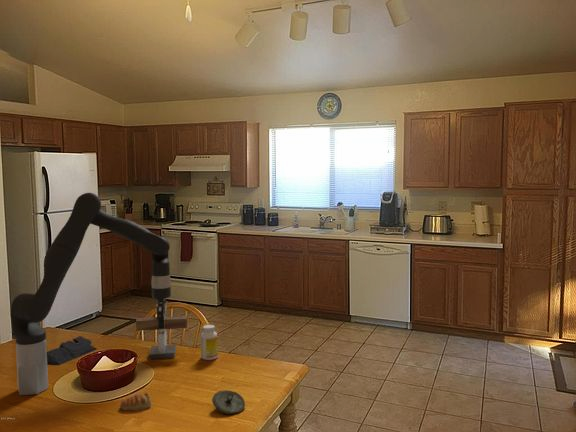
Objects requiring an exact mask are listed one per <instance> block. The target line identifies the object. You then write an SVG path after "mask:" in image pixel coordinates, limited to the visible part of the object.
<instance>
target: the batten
mask: <svg viewBox="0 0 576 432" xmlns="http://www.w3.org/2000/svg"><path fill="white" fill-rule="evenodd" d="M164 318H165V319H164V329H166V330H173V329H174V330H175V329H176V330H178V329H188V315H175V316H165V317H164ZM135 326H136V327H135V330H136V332H137V331H157V330H162V329H159V321H158V319H157V316H156V317H155V316H154V317H137V318H136V320H135Z"/></svg>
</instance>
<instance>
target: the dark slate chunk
mask: <svg viewBox="0 0 576 432" xmlns="http://www.w3.org/2000/svg"><path fill="white" fill-rule="evenodd" d="M95 351H97V347H95V346H94V345H92V341H91V340H90V339H88V338H86V337H83V336H81V335H80V336H77V337H75V338H72V340H66V341H65V342H61V343H60V345H59V347H57V348H54V349H51V350H47V364H51V365H55V366H57V365H59V366H61V365H62V364H66V363H68V362H70V361H72V360H76V359H78V358H80V357H82V356H85V355H87V354H89V353H91V352H95Z"/></svg>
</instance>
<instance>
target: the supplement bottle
mask: <svg viewBox="0 0 576 432" xmlns="http://www.w3.org/2000/svg"><path fill="white" fill-rule="evenodd" d="M202 330H203V332H201V334H200V356H201V359H202V360H205V361H211V360H215V359H217V358H218V356H219V355H218V354H219V351H218V350H219V348H218V347H219V345H218V333H217V331H215V330H216V327H215V325H214V324H206V325H203V326H202Z"/></svg>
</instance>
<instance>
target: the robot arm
mask: <svg viewBox="0 0 576 432" xmlns="http://www.w3.org/2000/svg"><path fill="white" fill-rule="evenodd" d="M101 208H102V202H101V199H100V197H99V196H98V195H97V194H96V193H93V192H84V193H82V194H81V195H79V196H78V197H77V198H76V200H75V202H74V205H73V207H72V211H71V212H70V213H71V214H70V216H69V218H68V220H67V221H66V223H65V224H64V226H63V227H62V228H61V230H60V231H59V232H58V233H57V235H56V237H55V238H54V239H53V241H52V243H51V245H50V246H49V248H48V249H47V252H46V253H45V256H44V258H43V278H42V280H41V283H40V285H39V287H38V288H37V290H36V292H35V293H20V294H18V295H16V296H15V297H14V298H13V300H12V302H11V306H10V321H11V330H12V334H13V337H14V338H15V351H16V354H15V355H16V373H17V374H16V375H17V390H18V396H28V395H39V394H40V393H41V392H44V391H46V390H47V389H48V388H49V375H48V372H49V369H48V362H47V352H48V350H47V348H48V347H47V332H46V330H45V329H44V328H43V327H42V326H41V325H40V324H39V323H40V322H42V321H44V320H45V319H46V318H47V317H48V315H49V313H50V311H51V309H52V307H53V304H54V302H55V300H56V297H57V294H58V292H59V290H60V288H61V285H62V283H63V281H64V280H65V277H66V275H67V273H68V271H69V269H70V268H71V266H72V264H73V263H74V261H75V258H76V257H77V255H78V253H79V251H80V248H81V245H82V244H83V240H84V238H85V235H86V232H87V229H88V228H89V227H90V225H93V226H97V227H98V228H102V229H103V230H104V229H105V230H107V231H110V232H111V233H114V234H117V235H119V236H121V237H122V238H125V239H126V240H128V241H131V242H132V243H134V244H137V245H139V246H141V247H143V248H145V249H146V250H148V251H149V252H151V261H152V262H151V298H152V299H154V300H155V299H156V300H157V301H156V302H155V307H156V314H157V315H156V317H157V319H158V321H159V329H164V319H165V318H164V317H167V316H166V313H167V304H168V301H167V299H169V298H170V297H172V294H171V293H172V291H171V289H172V287H171V283H172V282H171V275H170V274H171V271H170V266H171V265H170V261H169V251H170V248H171V245H170V242H169V240H168V239H167V238H166V237H163V236H160V235H157V234H155V233H154V232H151V231H150V230H149V229H147V228H146V227H144V226H142V225H140V224H138V223H136V222H134V221H132V220H129V219H126V218H121V217H117V216H114V215H112V214H109V213H107V212H105V211H104V210H102V209H101Z"/></svg>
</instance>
